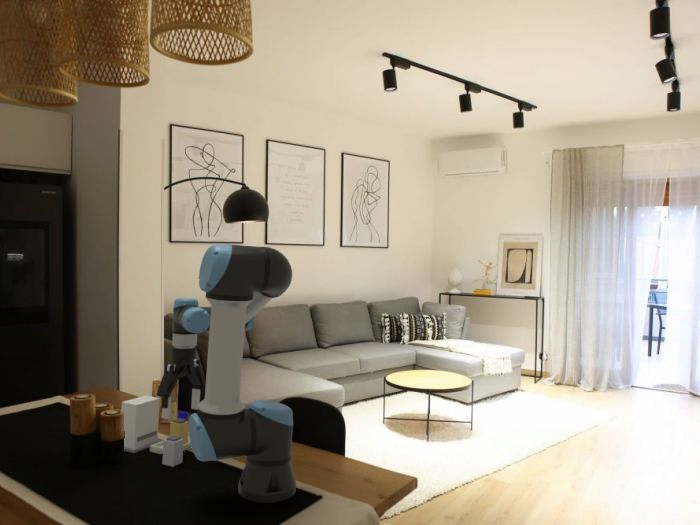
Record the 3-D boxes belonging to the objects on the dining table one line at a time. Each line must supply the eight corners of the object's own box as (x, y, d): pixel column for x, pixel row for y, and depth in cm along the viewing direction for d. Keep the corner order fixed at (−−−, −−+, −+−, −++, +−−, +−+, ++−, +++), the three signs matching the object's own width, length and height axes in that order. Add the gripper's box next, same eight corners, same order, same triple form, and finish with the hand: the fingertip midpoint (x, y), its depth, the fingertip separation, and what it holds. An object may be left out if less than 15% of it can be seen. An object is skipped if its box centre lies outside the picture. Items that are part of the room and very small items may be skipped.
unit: (162, 442, 180) (164, 398, 180) (133, 453, 169) (136, 406, 169) (143, 437, 184) (145, 394, 184) (114, 448, 173) (116, 402, 173)
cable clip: (174, 428, 196) (175, 411, 196) (187, 428, 196) (188, 411, 196) (166, 439, 184) (167, 421, 184) (179, 440, 184) (180, 421, 184)
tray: (206, 441, 183) (206, 436, 183) (171, 456, 168) (171, 450, 168) (186, 436, 187) (186, 431, 187) (149, 451, 172) (149, 445, 172)
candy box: (176, 419, 205) (179, 378, 205) (175, 423, 201) (178, 381, 201) (151, 420, 203) (153, 378, 203) (150, 423, 199) (152, 380, 199)
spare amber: (187, 443, 179) (189, 419, 179) (179, 446, 175) (180, 422, 175) (178, 440, 180) (179, 417, 180) (169, 444, 177) (170, 420, 177)
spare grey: (182, 462, 164) (183, 436, 164) (172, 466, 161) (174, 440, 161) (171, 459, 166) (173, 434, 166) (162, 464, 162) (163, 438, 162)
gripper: (200, 341, 190) (197, 404, 190) (146, 350, 168) (143, 420, 167) (218, 343, 187) (215, 407, 187) (165, 352, 164) (162, 424, 164)
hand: (181, 413), depth 177 cm, fingers open, 13 cm apart
